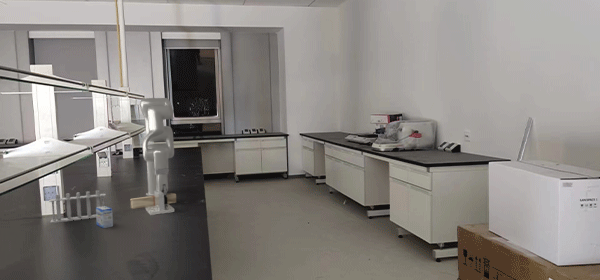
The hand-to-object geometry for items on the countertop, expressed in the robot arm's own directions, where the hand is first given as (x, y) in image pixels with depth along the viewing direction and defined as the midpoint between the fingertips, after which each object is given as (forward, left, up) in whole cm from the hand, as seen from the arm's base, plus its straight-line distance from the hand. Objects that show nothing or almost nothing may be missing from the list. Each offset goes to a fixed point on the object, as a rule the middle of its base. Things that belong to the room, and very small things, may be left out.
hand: (163, 202), depth 247 cm
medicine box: (+32, -33, -1) cm, 46 cm away
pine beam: (0, -5, -1) cm, 5 cm away
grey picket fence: (+10, -43, -1) cm, 44 cm away
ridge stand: (+16, -5, -1) cm, 17 cm away
